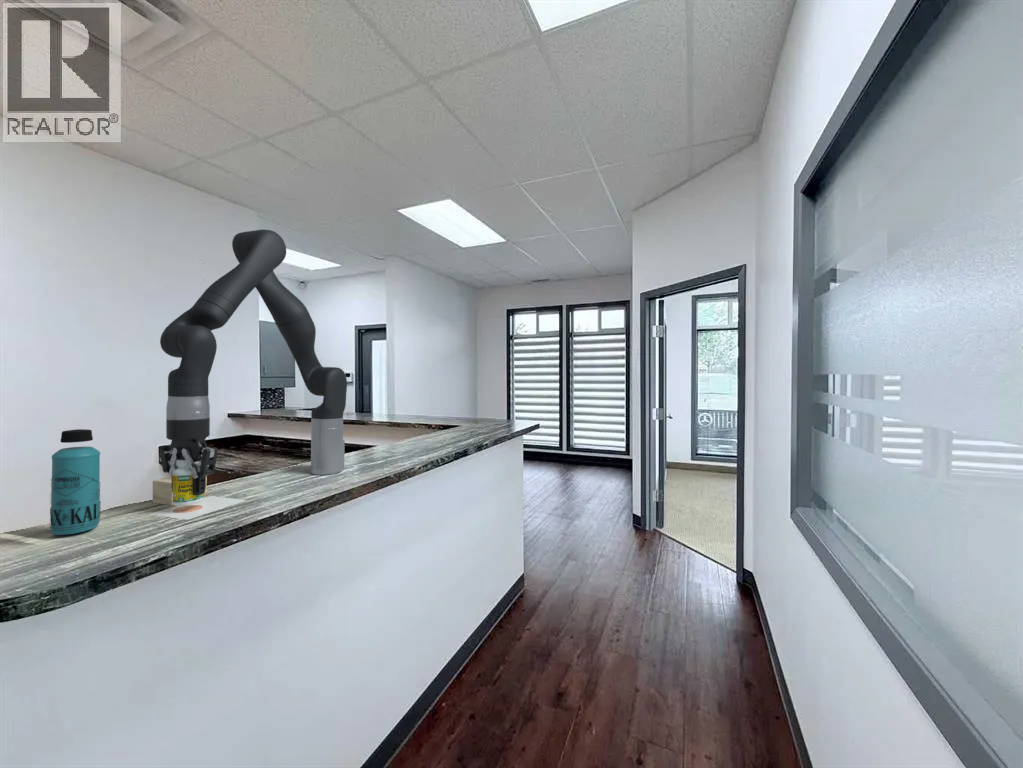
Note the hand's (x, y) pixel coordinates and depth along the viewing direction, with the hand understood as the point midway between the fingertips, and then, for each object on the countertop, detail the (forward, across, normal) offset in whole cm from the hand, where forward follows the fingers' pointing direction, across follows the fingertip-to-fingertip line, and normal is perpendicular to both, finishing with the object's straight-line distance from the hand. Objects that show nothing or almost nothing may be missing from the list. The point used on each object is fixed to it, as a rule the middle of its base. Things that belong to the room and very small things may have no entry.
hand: (188, 492), depth 91 cm
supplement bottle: (+2, 0, 0) cm, 2 cm away
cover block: (+5, +9, -5) cm, 11 cm away
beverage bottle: (+5, +6, +16) cm, 18 cm away
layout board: (+4, -1, -2) cm, 5 cm away
